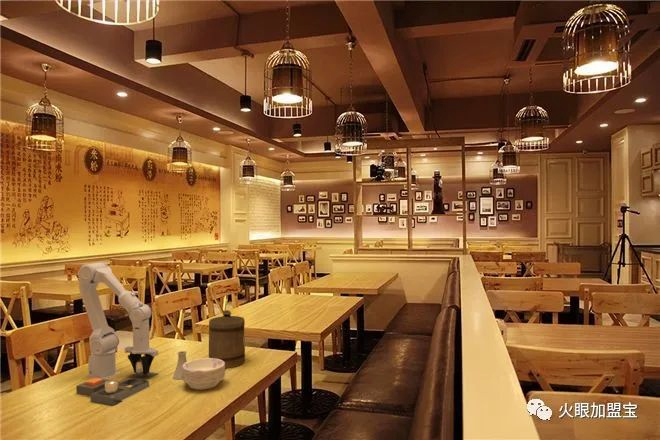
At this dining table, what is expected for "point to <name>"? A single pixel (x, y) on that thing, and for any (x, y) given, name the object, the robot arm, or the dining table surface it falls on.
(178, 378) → the flask
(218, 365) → the paper bowls
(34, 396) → the dining table surface
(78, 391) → the button housing
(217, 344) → the wooden container
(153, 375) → the rubber mat
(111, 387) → the light bulb
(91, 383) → the button
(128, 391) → the grey flat rectangular frame
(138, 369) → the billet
